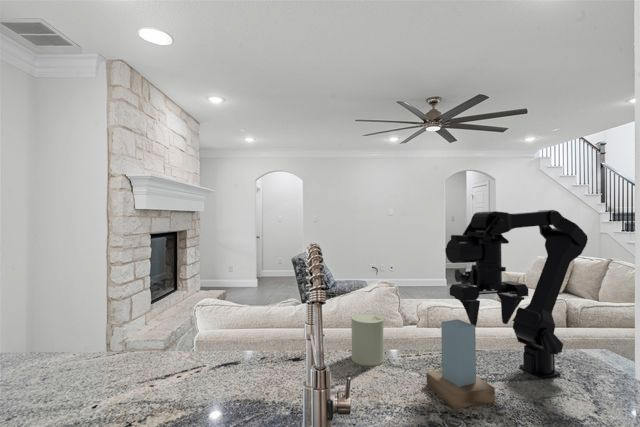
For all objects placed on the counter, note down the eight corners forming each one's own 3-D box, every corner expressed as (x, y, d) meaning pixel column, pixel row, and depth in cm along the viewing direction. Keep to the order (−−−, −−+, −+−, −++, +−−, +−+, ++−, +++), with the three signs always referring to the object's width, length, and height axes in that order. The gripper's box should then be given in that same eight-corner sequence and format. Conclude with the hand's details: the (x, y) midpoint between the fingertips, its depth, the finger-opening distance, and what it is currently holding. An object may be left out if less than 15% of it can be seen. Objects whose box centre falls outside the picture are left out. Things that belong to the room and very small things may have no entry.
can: (384, 367, 85) (383, 322, 85) (349, 364, 87) (349, 320, 87) (384, 353, 94) (383, 312, 94) (352, 351, 96) (352, 310, 96)
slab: (463, 379, 78) (463, 367, 78) (494, 402, 68) (494, 387, 68) (426, 384, 76) (426, 372, 76) (454, 408, 66) (453, 394, 66)
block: (458, 372, 75) (457, 319, 76) (476, 382, 71) (475, 325, 71) (442, 376, 73) (441, 321, 74) (458, 387, 69) (457, 328, 69)
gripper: (494, 257, 90) (495, 313, 89) (436, 259, 85) (436, 318, 85) (529, 262, 79) (530, 326, 78) (464, 264, 74) (465, 332, 74)
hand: (489, 325), depth 79 cm, fingers open, 9 cm apart
